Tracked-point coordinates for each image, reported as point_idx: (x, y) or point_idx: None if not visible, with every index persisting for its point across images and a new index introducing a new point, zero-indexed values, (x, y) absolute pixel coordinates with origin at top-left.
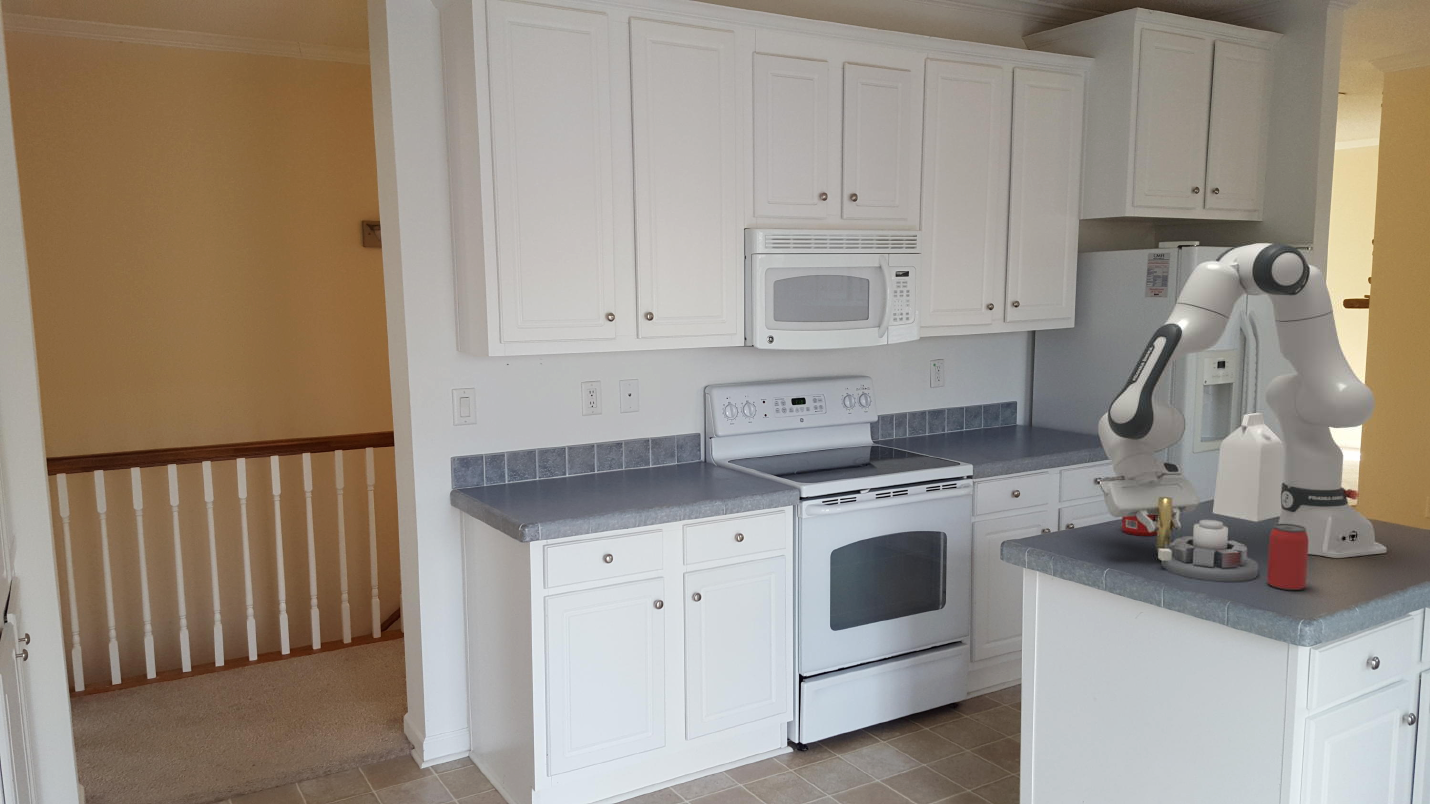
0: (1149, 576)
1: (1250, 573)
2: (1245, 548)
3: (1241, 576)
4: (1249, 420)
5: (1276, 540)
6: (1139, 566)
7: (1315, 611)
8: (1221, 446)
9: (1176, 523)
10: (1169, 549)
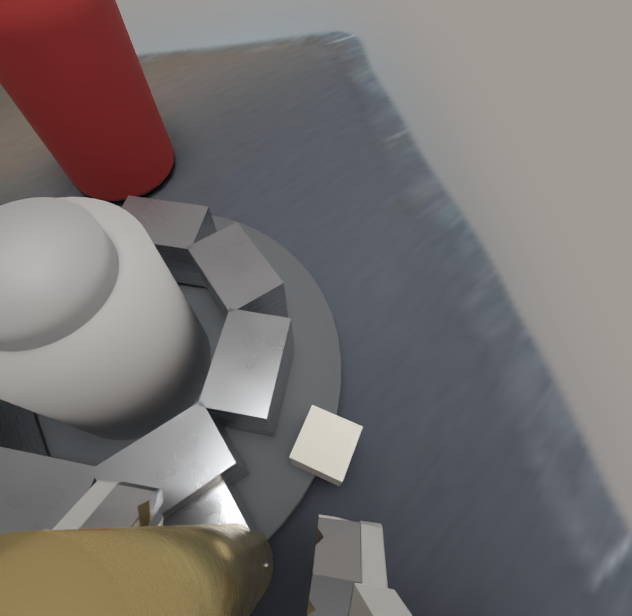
0: (467, 385)
1: None
2: None
3: None
4: None
5: (108, 3)
6: (414, 539)
7: (261, 58)
8: None
9: (118, 502)
10: (240, 502)
